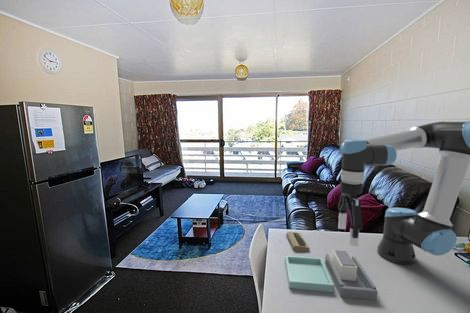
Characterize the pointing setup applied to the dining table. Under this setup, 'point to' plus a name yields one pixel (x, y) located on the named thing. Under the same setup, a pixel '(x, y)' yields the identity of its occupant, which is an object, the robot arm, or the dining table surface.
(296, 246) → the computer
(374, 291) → the tray
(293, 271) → the tray
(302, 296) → the dining table surface
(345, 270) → the grey bevelled prism
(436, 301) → the dining table surface
